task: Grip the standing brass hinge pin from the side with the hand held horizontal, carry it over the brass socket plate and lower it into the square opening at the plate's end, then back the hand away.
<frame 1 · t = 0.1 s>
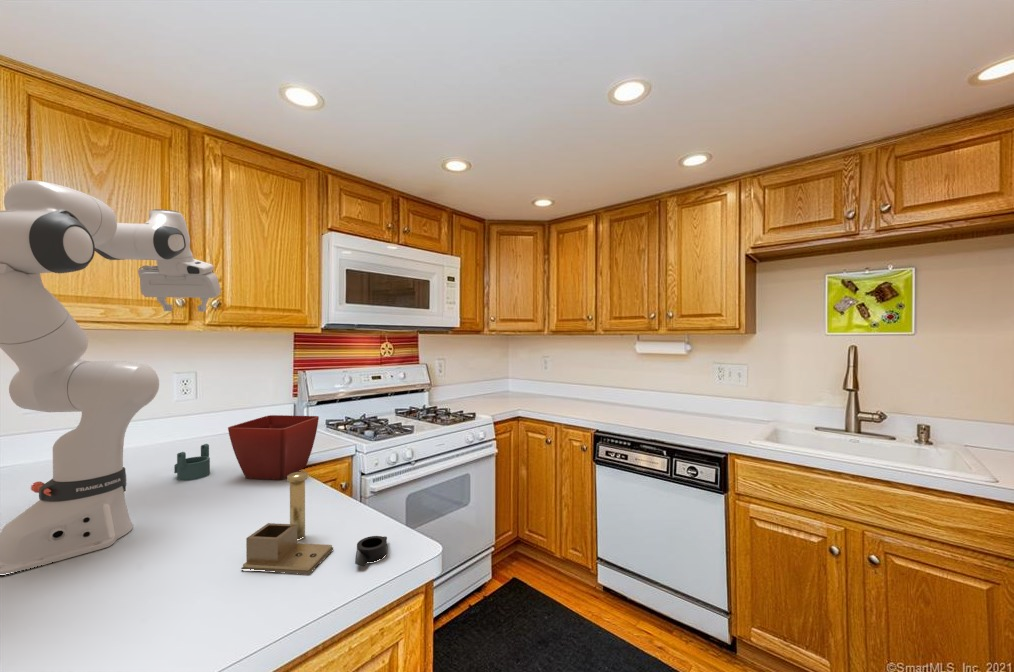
hand: (185, 311, 130), 52 cm above the worktop, tool tilted 20°, fingers open, 8 cm apart
hinge pin: (297, 537, 93), on the worktop
plant pot: (276, 473, 136), on the worktop
brass socket plate: (272, 559, 84), on the worktop
bracket: (192, 476, 133), on the worktop
black ring with tabs: (372, 557, 86), on the worktop
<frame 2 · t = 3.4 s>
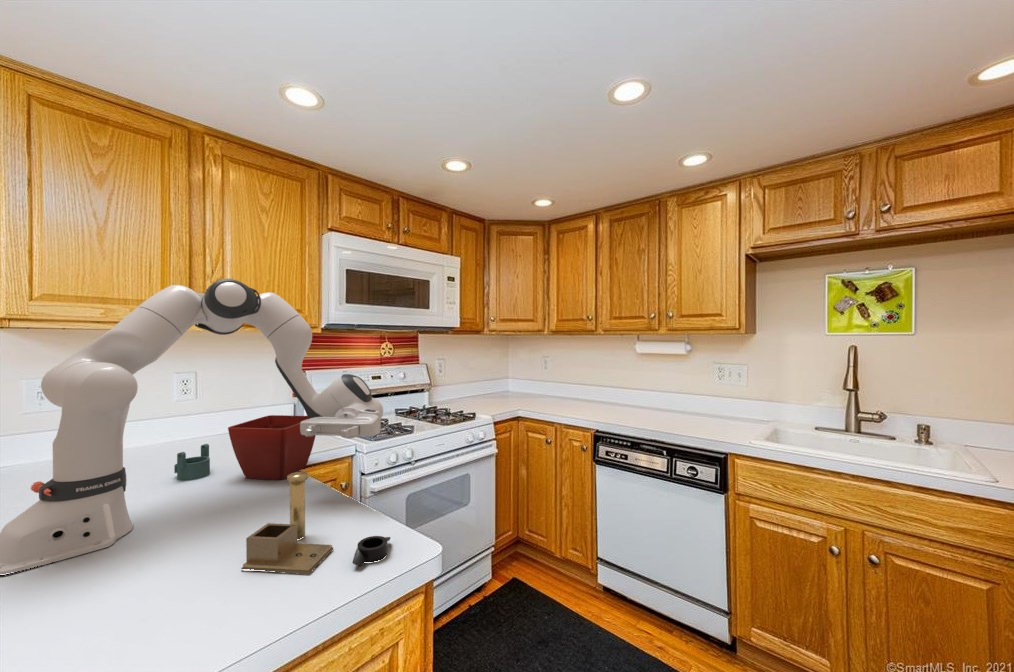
hand: (325, 433, 105), 20 cm above the worktop, tool horizontal, fingers open, 8 cm apart
nothing on the worktop moved.
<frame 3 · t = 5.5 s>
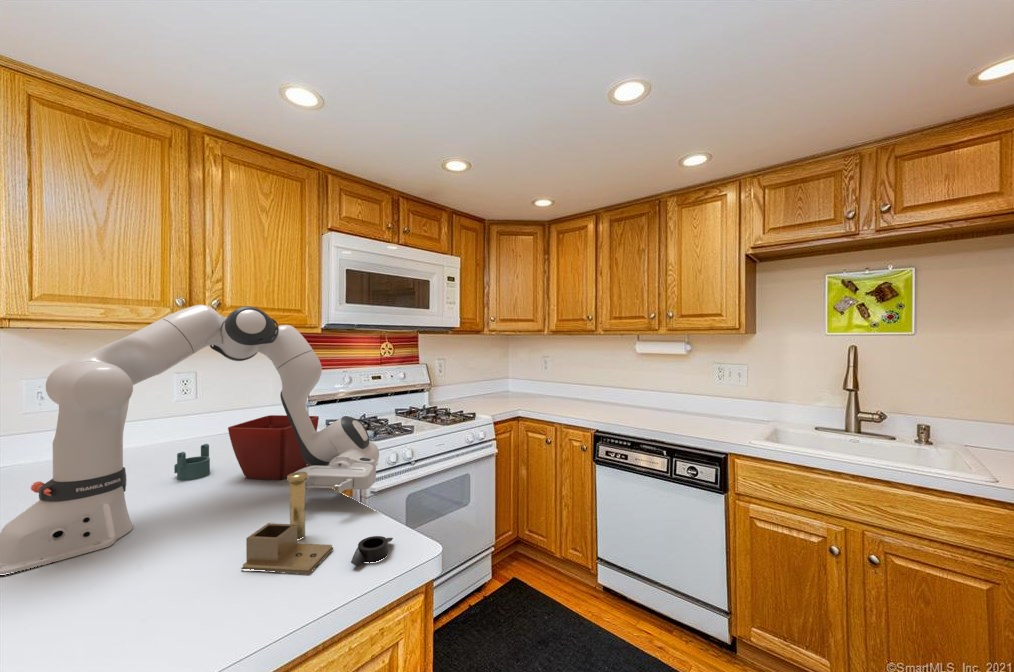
hand: (318, 488, 102), 8 cm above the worktop, tool horizontal, fingers open, 8 cm apart
nothing on the worktop moved.
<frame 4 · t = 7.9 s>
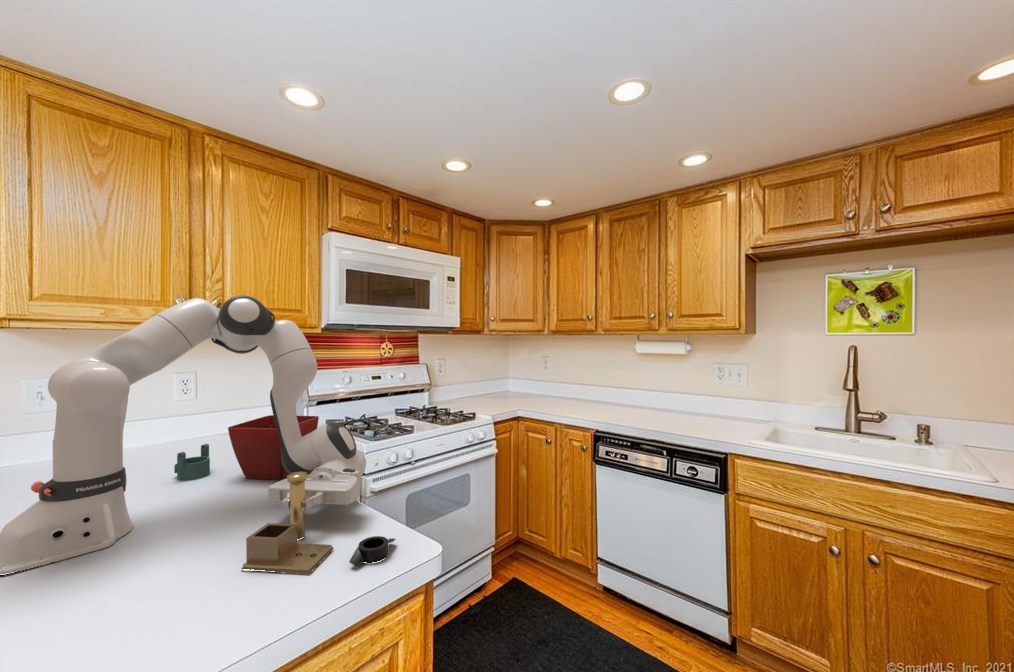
hand: (295, 504, 92), 8 cm above the worktop, tool horizontal, fingers closed on hinge pin, 3 cm apart
hinge pin: (297, 537, 93), on the worktop, touching gripper
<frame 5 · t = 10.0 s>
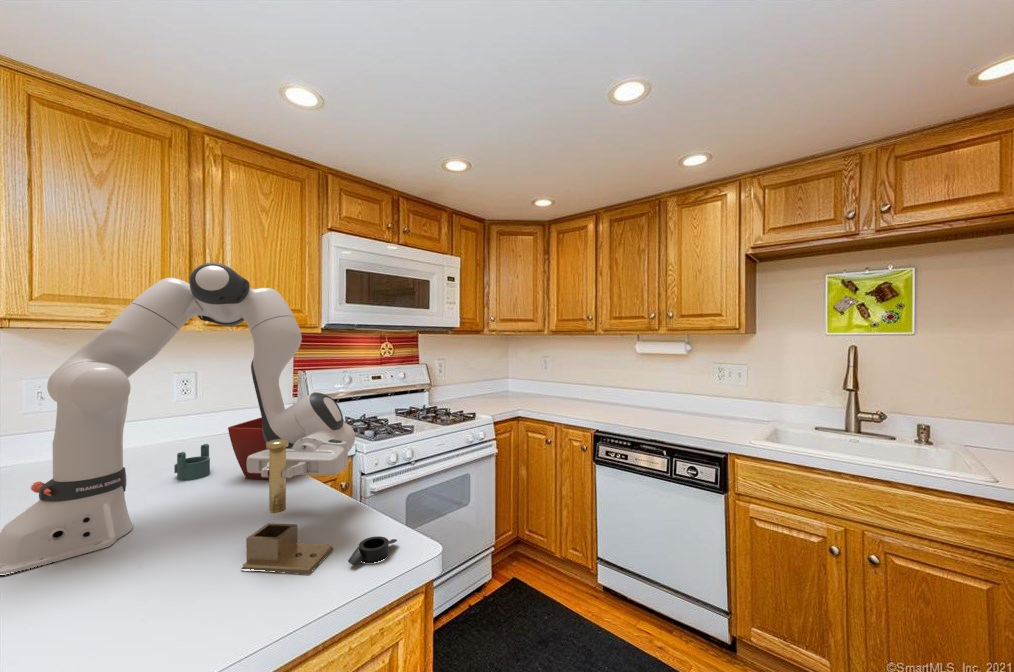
hand: (274, 473, 85), 17 cm above the worktop, tool horizontal, fingers closed on hinge pin, 3 cm apart
hinge pin: (277, 510, 86), point 9 cm above the worktop, touching gripper
when the fingers open (10 cm above the worktop, at t = 12.1 s): hinge pin drops 1 cm, resting on brass socket plate.
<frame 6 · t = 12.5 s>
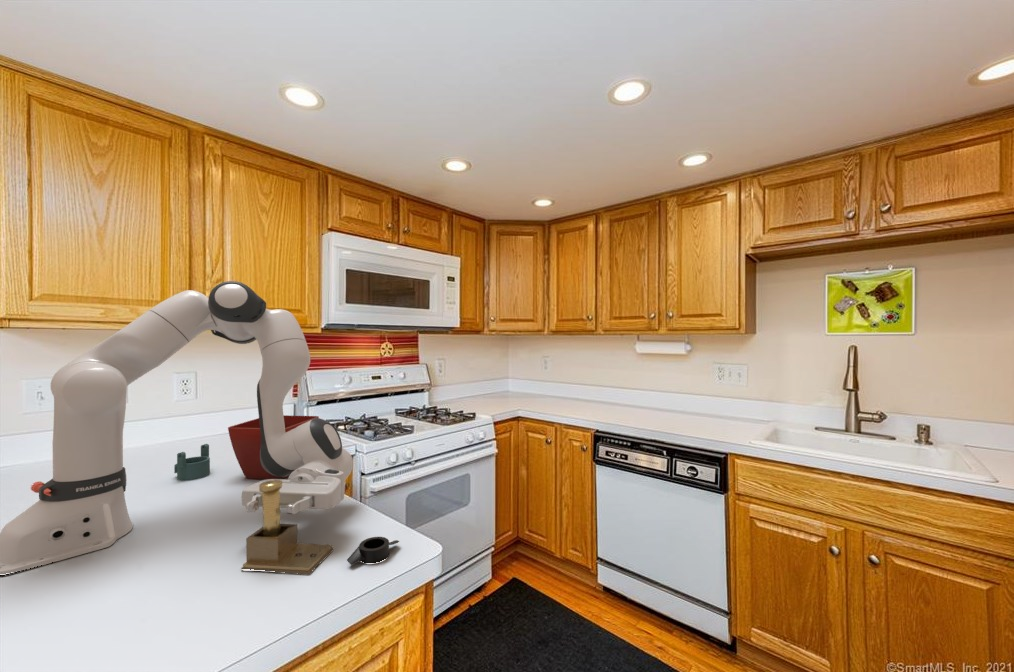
hand: (269, 509, 83), 10 cm above the worktop, tool horizontal, fingers open, 7 cm apart
hinge pin: (272, 553, 84), point 1 cm above the worktop, touching brass socket plate
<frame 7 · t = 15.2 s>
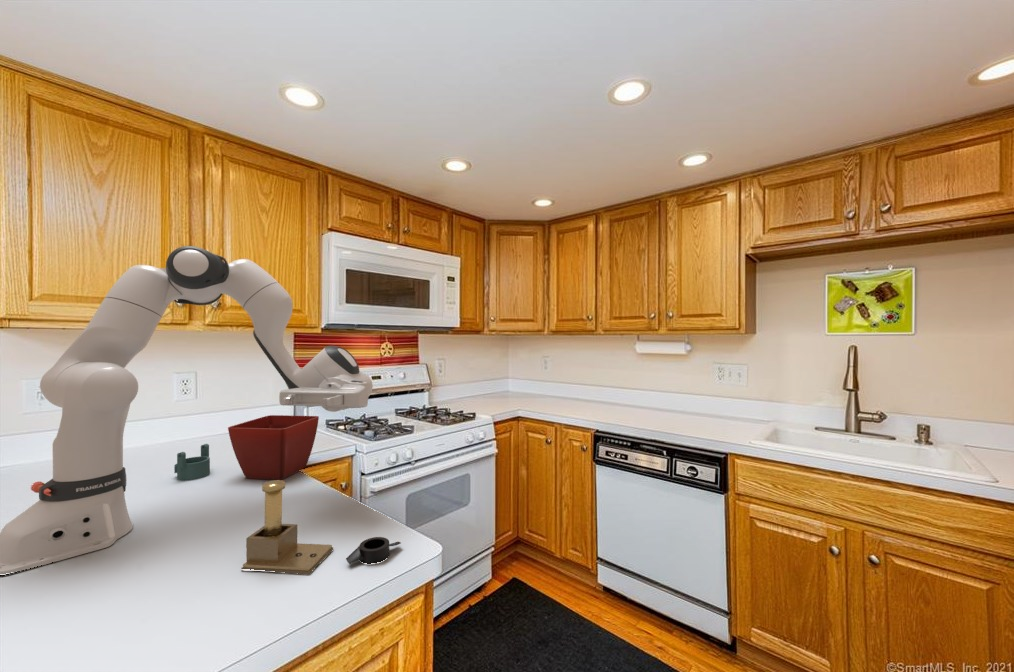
hand: (306, 402, 96), 30 cm above the worktop, tool horizontal, fingers open, 8 cm apart
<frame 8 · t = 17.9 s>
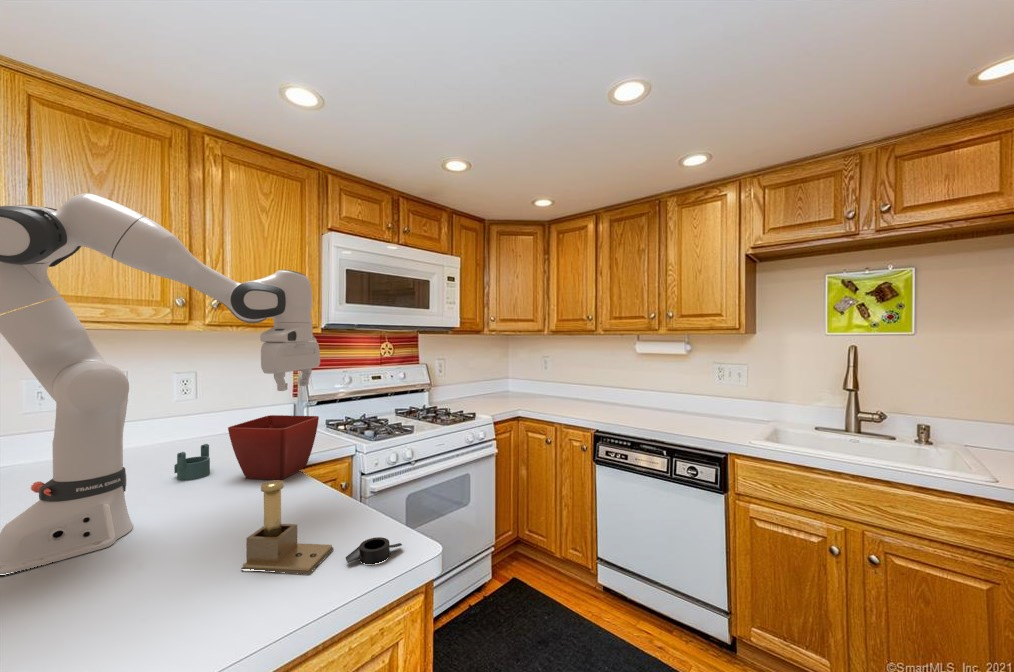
hand: (293, 388, 108), 31 cm above the worktop, tool pointing down, fingers open, 8 cm apart
at the end: hinge pin 0.0 cm off-centre on the brass socket plate, point 1.2 cm above the brass socket plate's base; hinge pin tilted 1°; the gripper is holding nothing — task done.
